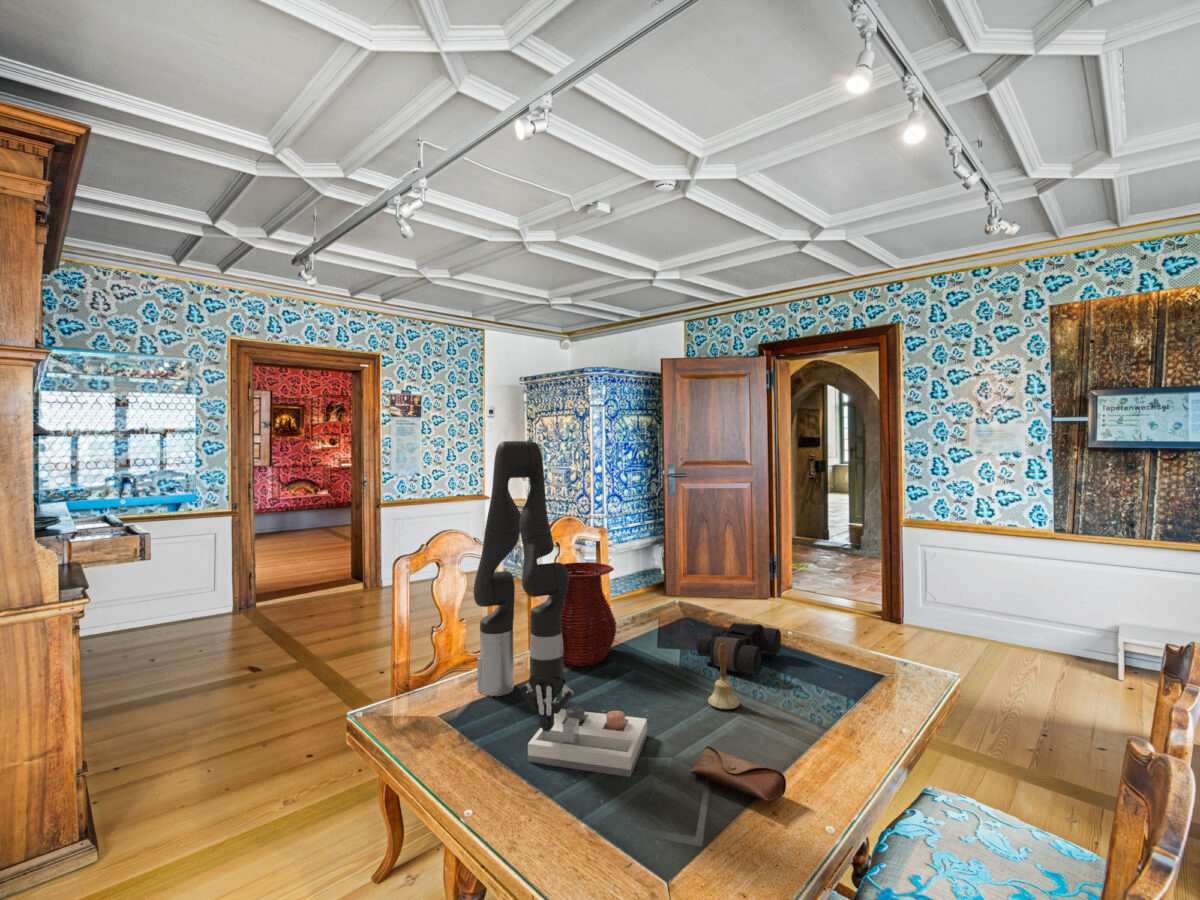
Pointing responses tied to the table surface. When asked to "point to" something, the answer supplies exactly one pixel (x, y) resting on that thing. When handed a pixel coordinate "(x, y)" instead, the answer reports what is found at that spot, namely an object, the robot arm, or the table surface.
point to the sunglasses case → (740, 775)
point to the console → (591, 745)
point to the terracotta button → (615, 720)
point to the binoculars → (740, 645)
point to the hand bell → (723, 685)
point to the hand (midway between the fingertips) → (547, 729)
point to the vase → (586, 616)
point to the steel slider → (571, 731)
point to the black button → (575, 713)
